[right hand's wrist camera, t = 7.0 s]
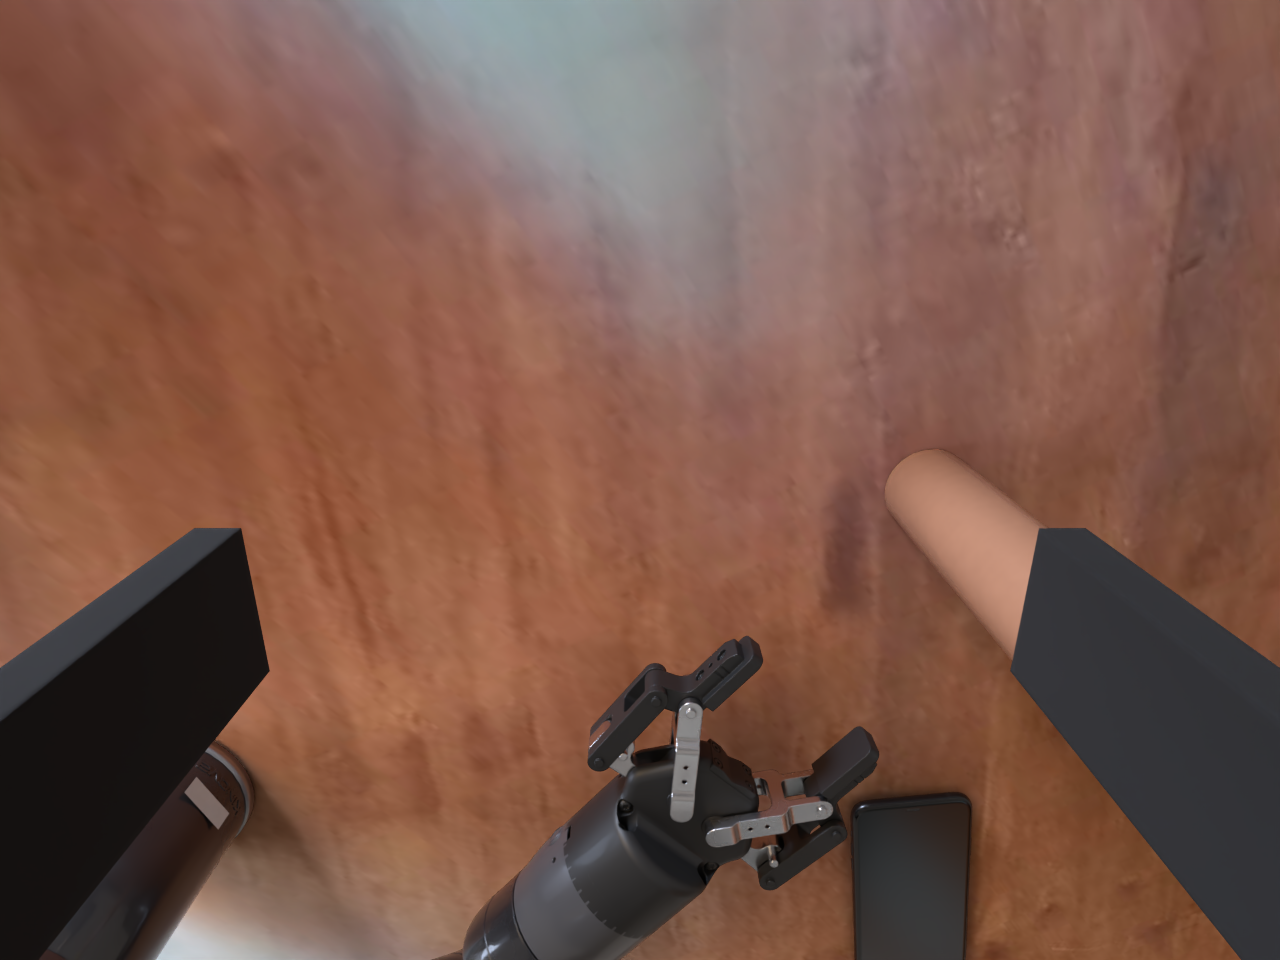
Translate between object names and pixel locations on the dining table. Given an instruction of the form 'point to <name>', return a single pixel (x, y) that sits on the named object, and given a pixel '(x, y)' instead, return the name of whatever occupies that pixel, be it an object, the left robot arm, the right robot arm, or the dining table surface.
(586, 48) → the dining table surface
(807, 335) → the dining table surface
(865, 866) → the smartphone
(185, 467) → the dining table surface
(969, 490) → the bottle
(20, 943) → the right robot arm
